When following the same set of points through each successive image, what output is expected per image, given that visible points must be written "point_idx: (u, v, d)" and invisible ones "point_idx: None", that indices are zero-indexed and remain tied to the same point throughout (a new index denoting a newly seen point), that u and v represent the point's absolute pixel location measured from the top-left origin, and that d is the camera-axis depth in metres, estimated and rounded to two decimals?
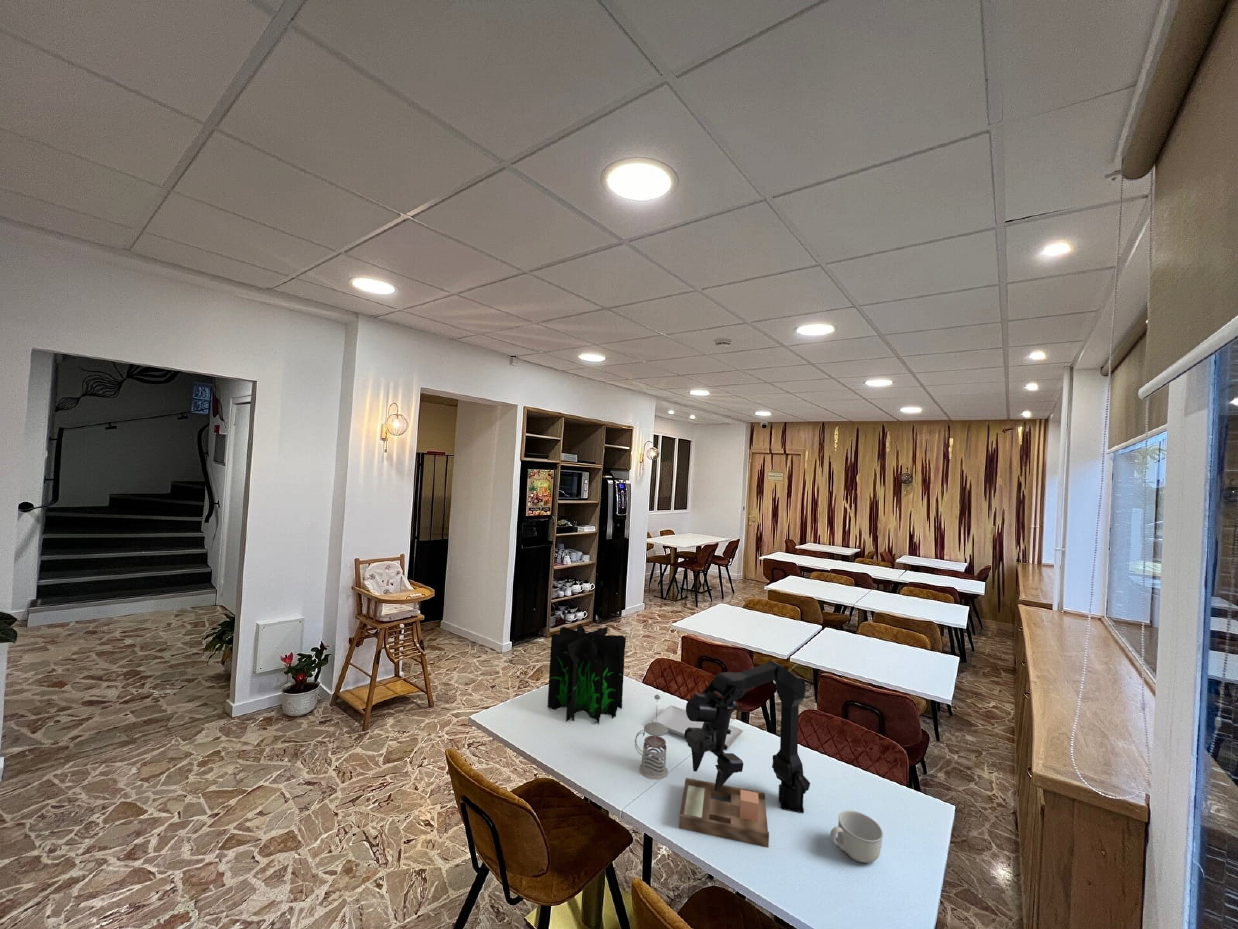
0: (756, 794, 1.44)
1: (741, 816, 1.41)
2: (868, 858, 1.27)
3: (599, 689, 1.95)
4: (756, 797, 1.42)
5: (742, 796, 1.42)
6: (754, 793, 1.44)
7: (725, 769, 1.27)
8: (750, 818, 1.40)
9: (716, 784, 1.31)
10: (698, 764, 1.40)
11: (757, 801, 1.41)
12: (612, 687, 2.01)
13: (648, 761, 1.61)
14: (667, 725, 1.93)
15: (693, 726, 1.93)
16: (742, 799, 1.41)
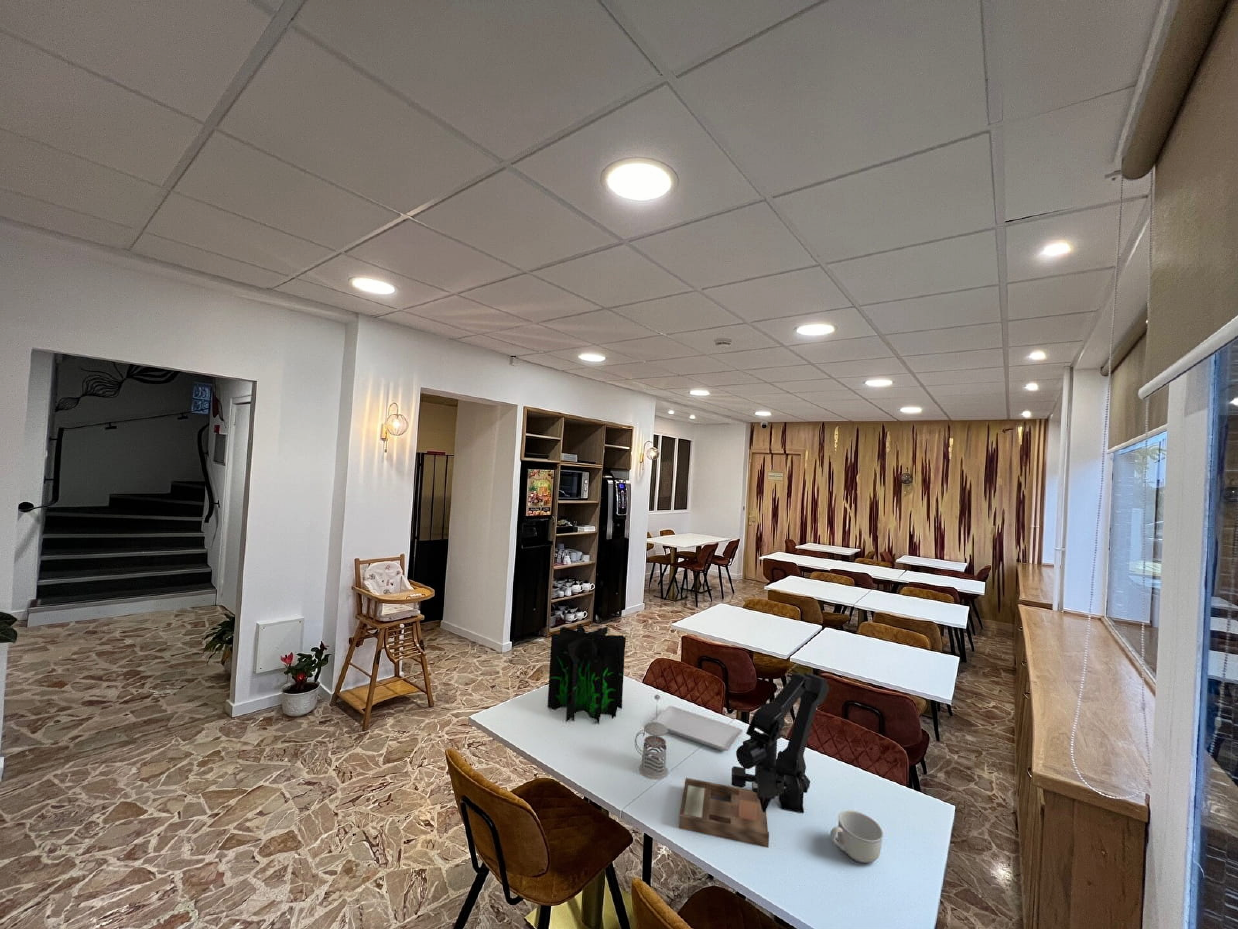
0: (755, 794, 1.44)
1: (740, 816, 1.41)
2: (868, 858, 1.27)
3: (599, 689, 1.95)
4: (755, 797, 1.42)
5: (741, 796, 1.42)
6: (753, 793, 1.44)
7: (798, 796, 1.37)
8: (749, 818, 1.40)
9: (766, 807, 1.41)
10: None
11: (756, 801, 1.41)
12: (612, 687, 2.01)
13: (648, 761, 1.61)
14: (667, 726, 1.92)
15: (693, 726, 1.93)
16: (741, 799, 1.41)
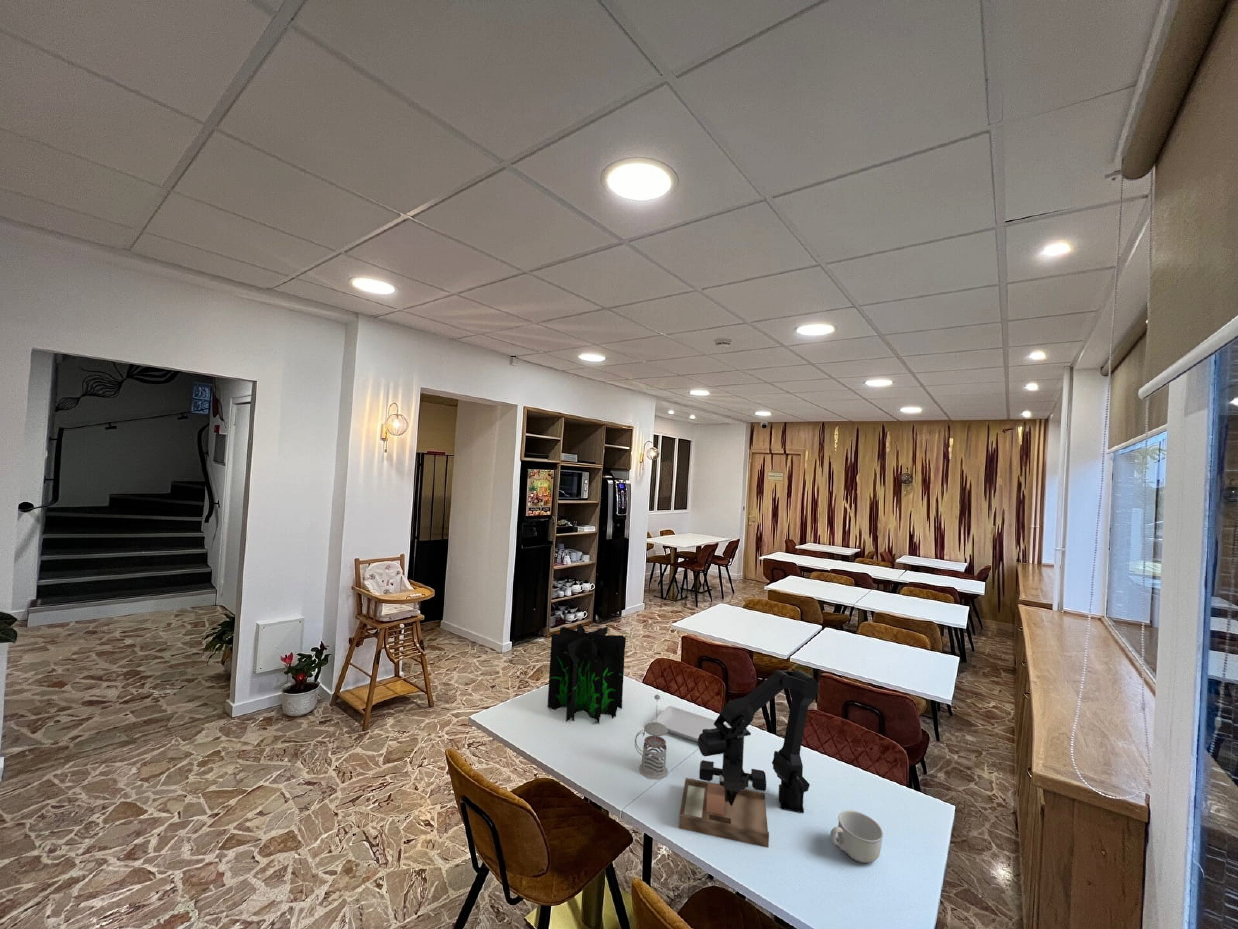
0: (723, 788, 1.46)
1: (707, 809, 1.43)
2: (868, 858, 1.27)
3: (599, 689, 1.95)
4: (723, 791, 1.44)
5: (709, 790, 1.44)
6: (721, 787, 1.46)
7: (764, 789, 1.39)
8: (716, 811, 1.42)
9: (733, 800, 1.43)
10: (731, 796, 1.44)
11: (723, 794, 1.43)
12: (612, 687, 2.01)
13: (648, 761, 1.61)
14: (667, 726, 1.92)
15: (692, 726, 1.93)
16: (709, 793, 1.43)
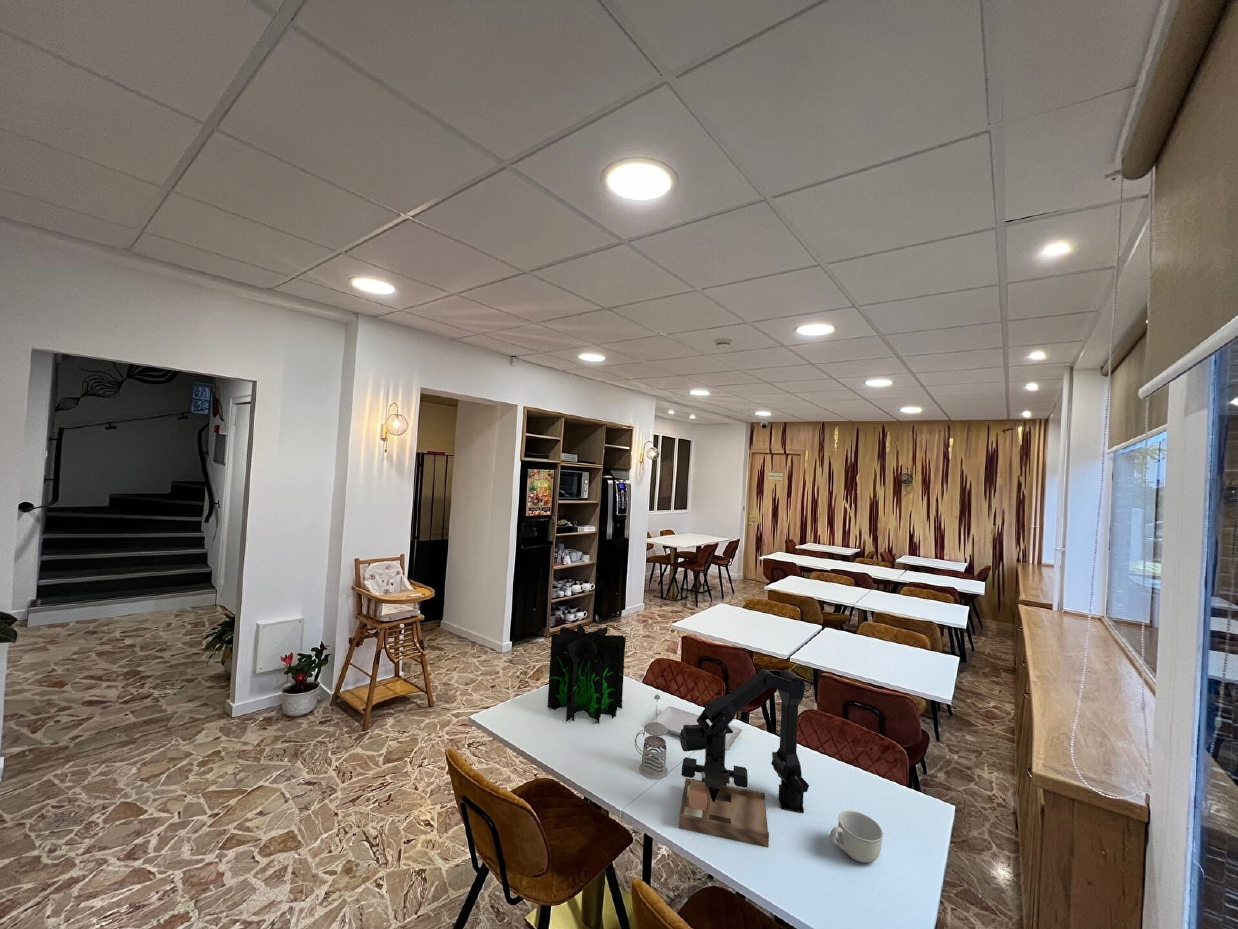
0: None
1: (690, 806, 1.44)
2: (868, 858, 1.27)
3: (599, 689, 1.95)
4: (705, 787, 1.46)
5: (691, 786, 1.46)
6: (704, 783, 1.47)
7: (745, 786, 1.40)
8: (698, 807, 1.43)
9: (715, 797, 1.44)
10: None
11: (705, 791, 1.44)
12: (612, 687, 2.01)
13: (648, 761, 1.61)
14: (666, 726, 1.92)
15: None
16: (691, 789, 1.44)
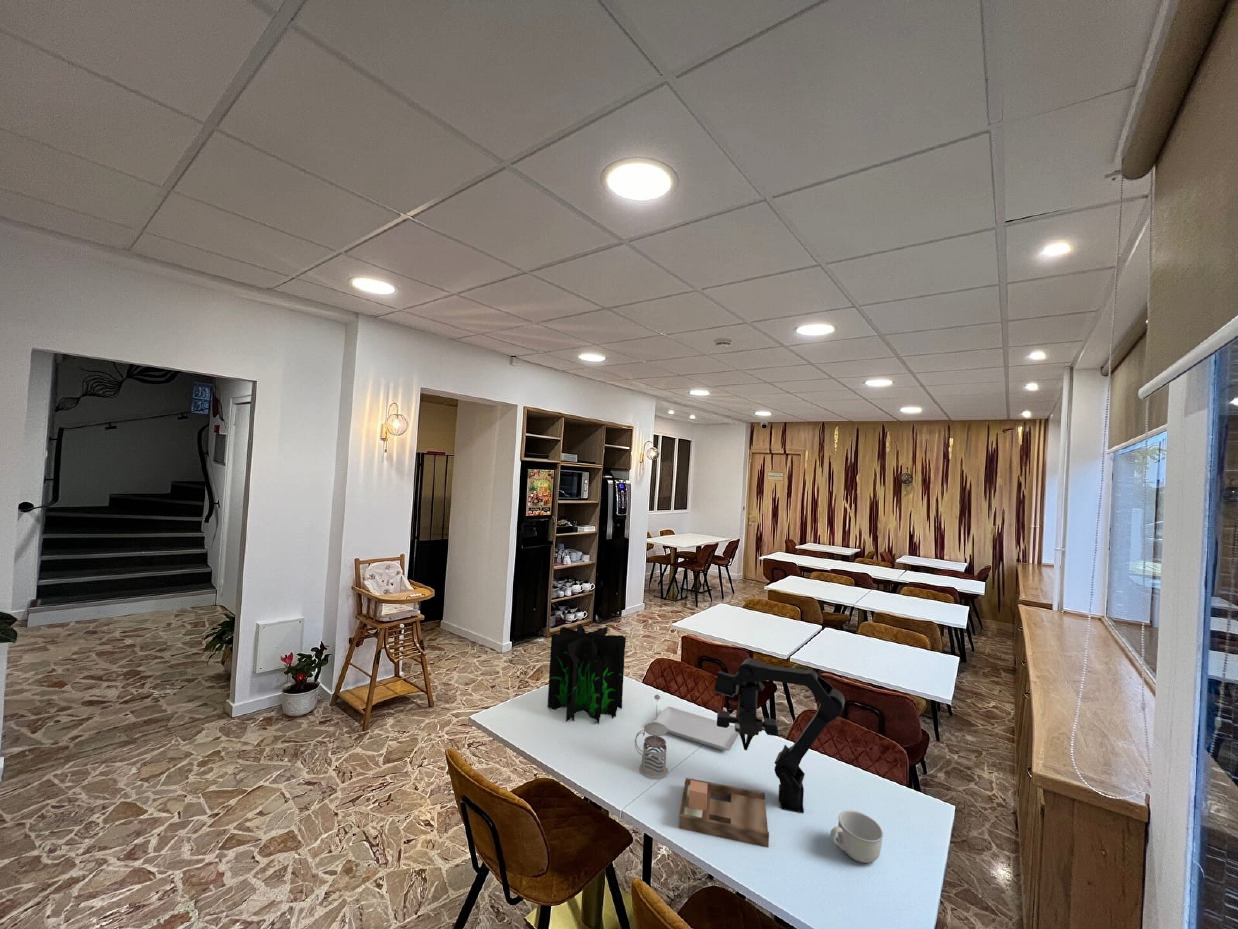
0: (706, 785, 1.47)
1: (690, 806, 1.44)
2: (868, 858, 1.27)
3: (599, 689, 1.95)
4: (705, 787, 1.46)
5: (691, 786, 1.46)
6: (704, 783, 1.47)
7: (776, 734, 1.53)
8: (698, 807, 1.43)
9: (747, 745, 1.57)
10: None
11: (705, 791, 1.44)
12: (612, 687, 2.01)
13: (648, 761, 1.61)
14: None
15: (692, 727, 1.93)
16: (691, 789, 1.44)
